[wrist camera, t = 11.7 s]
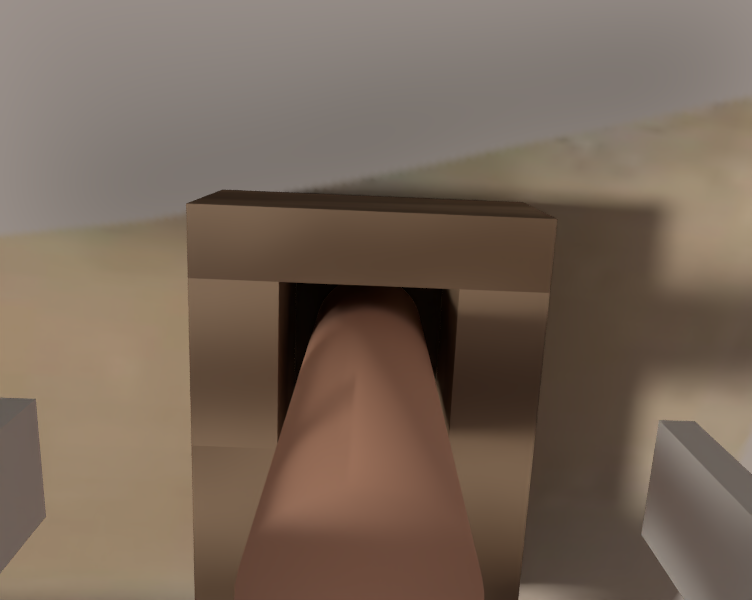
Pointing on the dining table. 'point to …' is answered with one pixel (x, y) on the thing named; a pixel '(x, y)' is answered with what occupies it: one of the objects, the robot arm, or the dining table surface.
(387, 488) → the peg
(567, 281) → the dining table surface
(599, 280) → the dining table surface
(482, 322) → the socket
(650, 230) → the dining table surface
